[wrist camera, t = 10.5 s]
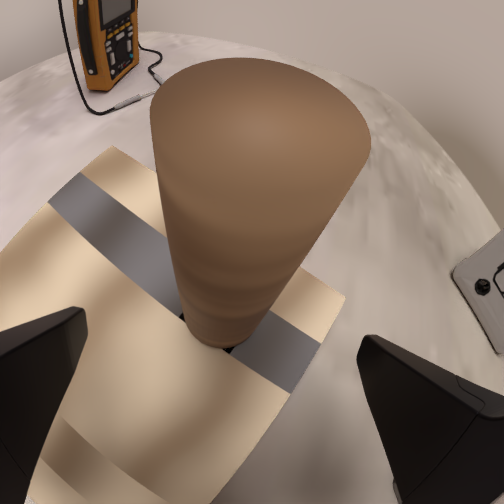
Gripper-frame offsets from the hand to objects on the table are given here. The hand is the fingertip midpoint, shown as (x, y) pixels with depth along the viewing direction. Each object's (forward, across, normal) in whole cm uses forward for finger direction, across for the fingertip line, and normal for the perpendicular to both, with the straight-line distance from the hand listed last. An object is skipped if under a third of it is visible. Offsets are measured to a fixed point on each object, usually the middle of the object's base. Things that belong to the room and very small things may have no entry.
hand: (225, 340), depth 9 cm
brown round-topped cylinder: (+7, 0, +4) cm, 8 cm away
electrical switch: (+9, -23, +2) cm, 25 cm away
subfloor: (+5, +6, +6) cm, 10 cm away
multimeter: (+24, +11, -13) cm, 30 cm away
